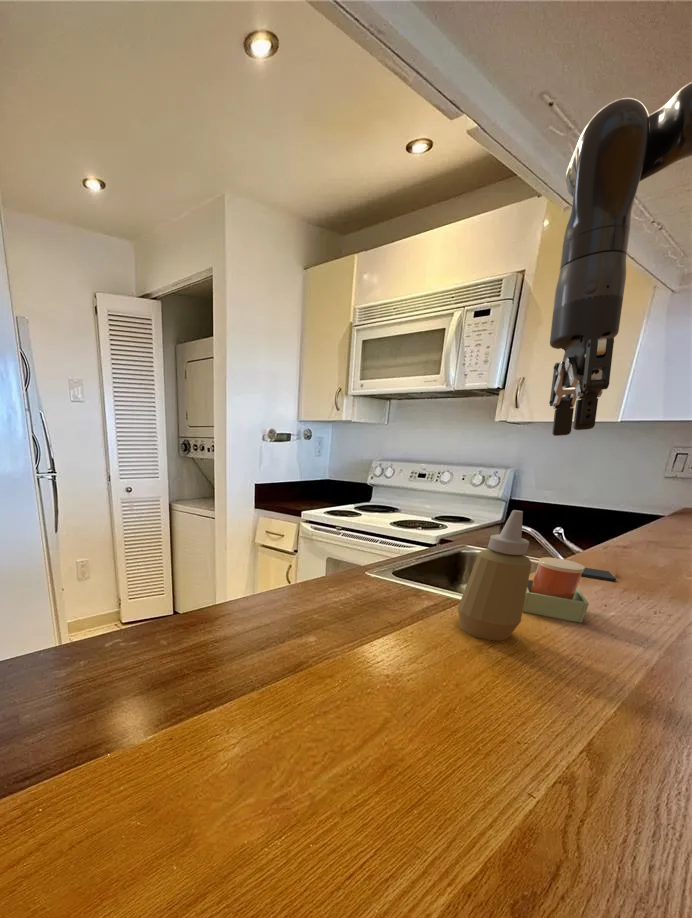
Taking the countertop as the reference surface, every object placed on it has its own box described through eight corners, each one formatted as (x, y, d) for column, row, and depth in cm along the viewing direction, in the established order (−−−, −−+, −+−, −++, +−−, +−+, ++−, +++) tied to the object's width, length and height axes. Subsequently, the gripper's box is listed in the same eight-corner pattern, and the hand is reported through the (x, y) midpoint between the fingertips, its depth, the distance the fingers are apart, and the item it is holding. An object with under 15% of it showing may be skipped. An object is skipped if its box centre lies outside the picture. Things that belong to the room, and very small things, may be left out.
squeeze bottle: (454, 642, 65) (488, 512, 58) (449, 620, 72) (479, 502, 66) (519, 654, 63) (562, 521, 56) (507, 630, 70) (544, 509, 63)
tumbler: (564, 607, 79) (580, 561, 76) (571, 620, 74) (589, 572, 71) (522, 599, 81) (536, 555, 78) (527, 611, 76) (542, 564, 73)
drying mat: (607, 573, 102) (608, 571, 102) (615, 581, 97) (616, 579, 97) (570, 567, 105) (571, 565, 104) (575, 575, 99) (576, 572, 99)
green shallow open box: (569, 609, 80) (577, 587, 78) (580, 628, 73) (589, 603, 71) (514, 599, 83) (520, 577, 81) (519, 616, 76) (526, 592, 74)
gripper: (649, 276, 55) (627, 425, 58) (598, 316, 68) (583, 435, 72) (574, 287, 57) (557, 429, 61) (538, 323, 70) (527, 438, 74)
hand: (571, 432), depth 66 cm, fingers open, 8 cm apart
